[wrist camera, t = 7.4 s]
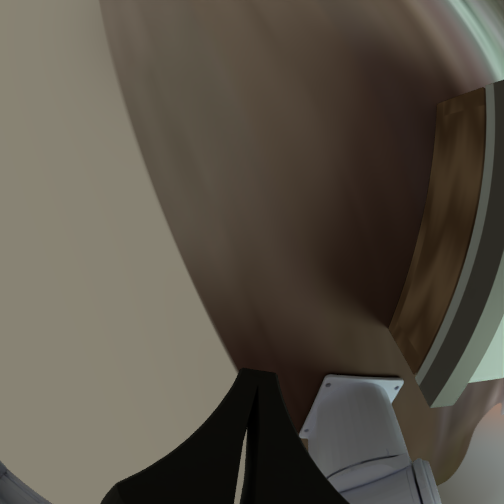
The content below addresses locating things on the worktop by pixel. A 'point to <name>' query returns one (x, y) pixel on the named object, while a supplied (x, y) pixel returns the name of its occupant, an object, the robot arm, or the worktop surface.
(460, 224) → the crate
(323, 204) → the worktop surface
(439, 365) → the lid
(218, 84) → the worktop surface
